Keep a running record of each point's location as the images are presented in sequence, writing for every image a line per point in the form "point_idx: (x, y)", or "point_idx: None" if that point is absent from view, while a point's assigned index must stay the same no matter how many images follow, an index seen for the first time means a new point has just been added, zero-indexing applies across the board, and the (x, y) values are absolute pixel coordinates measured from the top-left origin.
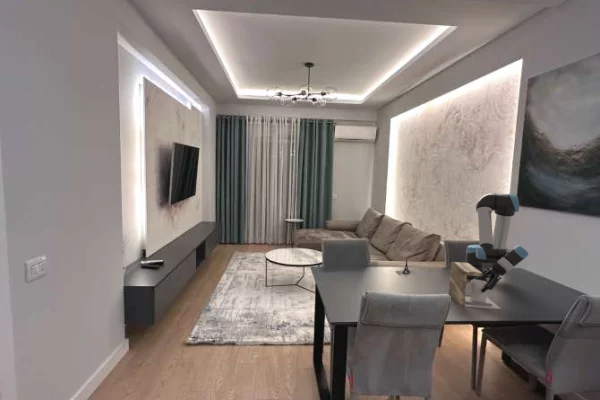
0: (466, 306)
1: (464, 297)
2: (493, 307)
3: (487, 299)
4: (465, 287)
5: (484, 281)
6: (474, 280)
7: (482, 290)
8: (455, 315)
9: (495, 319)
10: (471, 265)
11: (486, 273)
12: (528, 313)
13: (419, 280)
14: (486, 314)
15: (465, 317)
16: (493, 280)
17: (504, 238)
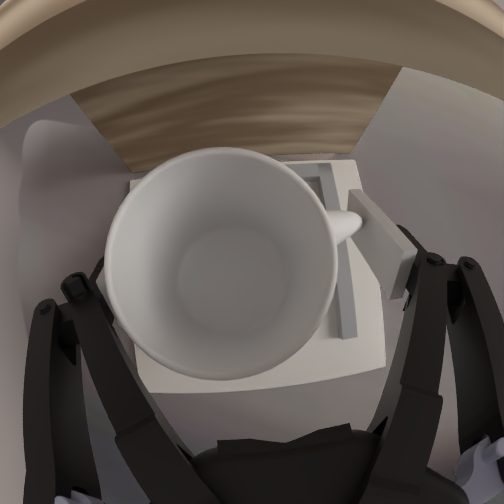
0: (131, 182)
1: (109, 140)
2: (142, 352)
3: (298, 366)
4: (74, 97)
5: (281, 353)
6: (314, 214)
7: (99, 262)
8: (48, 129)
9: (20, 290)
10: (473, 18)
11: (383, 435)
12: (146, 497)
13: (451, 81)
14: (55, 267)
15: (32, 163)
16: (24, 402)
17: None
